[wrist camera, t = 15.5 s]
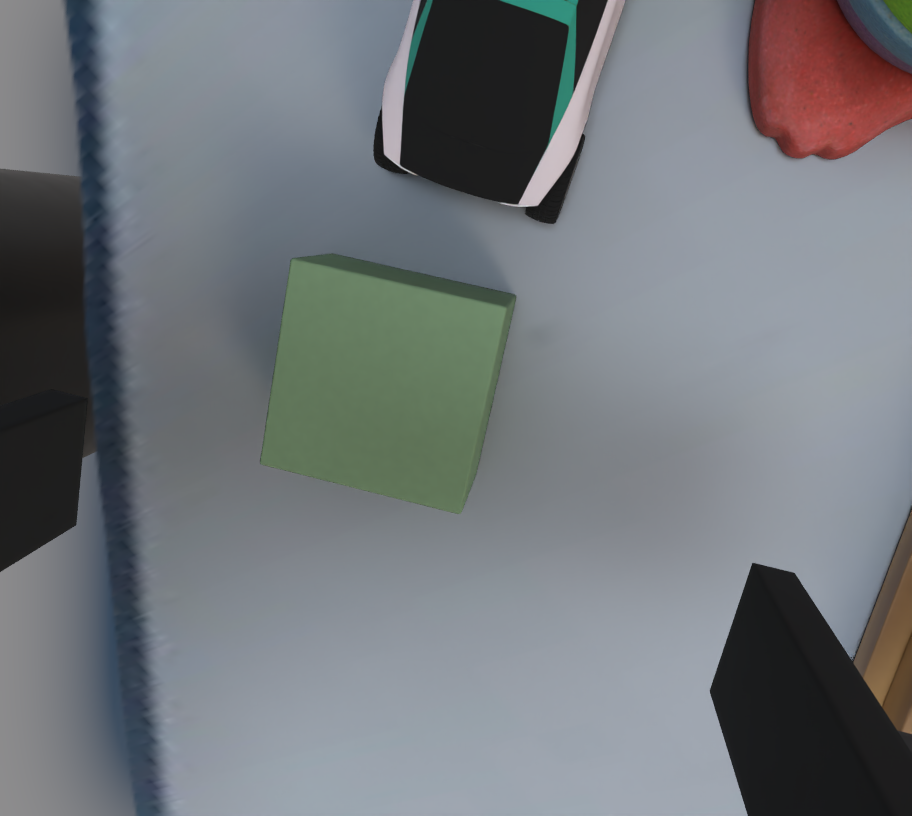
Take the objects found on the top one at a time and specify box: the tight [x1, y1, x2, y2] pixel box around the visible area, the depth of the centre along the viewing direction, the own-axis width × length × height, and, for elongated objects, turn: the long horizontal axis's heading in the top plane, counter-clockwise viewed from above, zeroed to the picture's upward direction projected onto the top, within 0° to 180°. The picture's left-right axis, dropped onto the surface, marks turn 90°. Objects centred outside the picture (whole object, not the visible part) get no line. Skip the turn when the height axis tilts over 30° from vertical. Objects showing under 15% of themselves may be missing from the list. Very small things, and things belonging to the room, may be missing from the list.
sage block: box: [260, 254, 516, 514], centre depth 25 cm, size 6×6×4 cm
